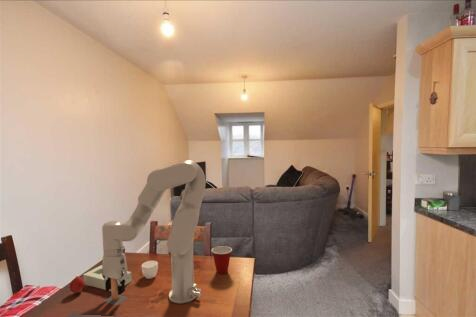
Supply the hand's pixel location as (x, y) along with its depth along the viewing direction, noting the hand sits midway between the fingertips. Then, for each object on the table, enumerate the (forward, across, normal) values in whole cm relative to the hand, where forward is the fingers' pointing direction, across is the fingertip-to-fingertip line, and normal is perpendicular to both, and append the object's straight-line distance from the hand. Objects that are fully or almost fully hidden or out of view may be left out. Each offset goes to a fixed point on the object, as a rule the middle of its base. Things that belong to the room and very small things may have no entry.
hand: (115, 290), depth 110 cm
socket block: (+4, +14, -8) cm, 17 cm away
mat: (+4, 0, 0) cm, 4 cm away
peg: (+4, 0, 0) cm, 4 cm away
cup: (+4, 0, -22) cm, 22 cm away
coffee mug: (+4, +24, -22) cm, 32 cm away
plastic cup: (+4, -32, -38) cm, 51 cm away
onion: (+4, +20, +2) cm, 21 cm away
